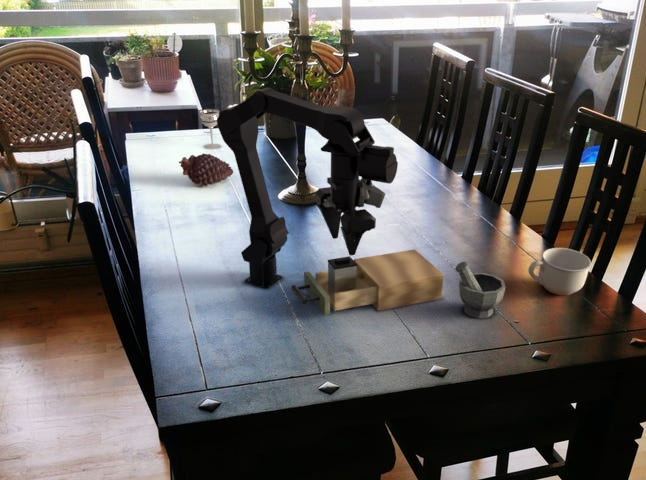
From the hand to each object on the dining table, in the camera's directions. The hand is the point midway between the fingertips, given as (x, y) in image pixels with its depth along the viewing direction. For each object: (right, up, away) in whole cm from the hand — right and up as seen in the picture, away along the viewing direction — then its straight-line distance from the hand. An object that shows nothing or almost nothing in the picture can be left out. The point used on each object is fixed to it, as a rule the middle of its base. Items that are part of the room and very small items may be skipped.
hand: (343, 246), depth 155 cm
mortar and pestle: (+29, -14, +4) cm, 32 cm away
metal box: (0, -9, +6) cm, 11 cm away
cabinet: (+12, -8, +11) cm, 19 cm away
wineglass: (-45, +51, +101) cm, 121 cm away
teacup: (+49, -8, +13) cm, 51 cm away
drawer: (-1, -11, +6) cm, 12 cm away
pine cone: (-41, +30, +69) cm, 86 cm away
